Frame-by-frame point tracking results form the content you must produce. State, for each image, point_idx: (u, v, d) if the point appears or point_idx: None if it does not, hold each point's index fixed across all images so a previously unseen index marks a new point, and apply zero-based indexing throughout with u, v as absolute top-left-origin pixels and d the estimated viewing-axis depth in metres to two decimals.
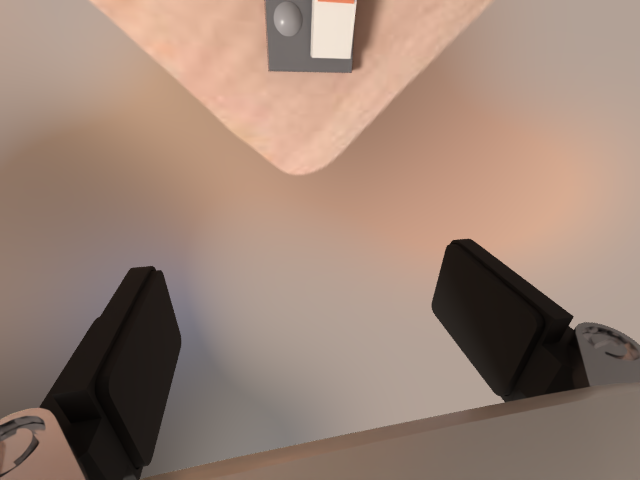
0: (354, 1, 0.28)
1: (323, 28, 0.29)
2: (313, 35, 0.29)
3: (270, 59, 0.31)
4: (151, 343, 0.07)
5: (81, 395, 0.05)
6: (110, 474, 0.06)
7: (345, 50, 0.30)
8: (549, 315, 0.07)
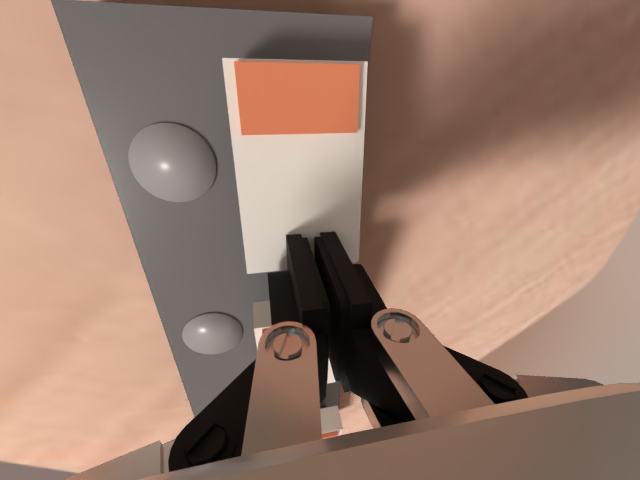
0: None
1: None
2: None
3: None
4: None
5: (318, 313, 0.07)
6: None
7: None
8: (350, 301, 0.07)
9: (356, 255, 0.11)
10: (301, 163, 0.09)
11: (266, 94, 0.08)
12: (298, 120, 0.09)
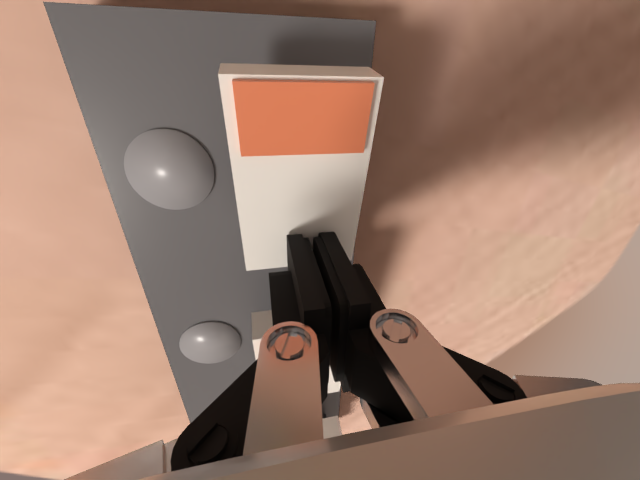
0: None
1: None
2: None
3: None
4: None
5: (319, 313, 0.07)
6: None
7: None
8: (349, 301, 0.07)
9: (350, 255, 0.11)
10: (302, 179, 0.09)
11: (267, 113, 0.08)
12: (302, 141, 0.08)
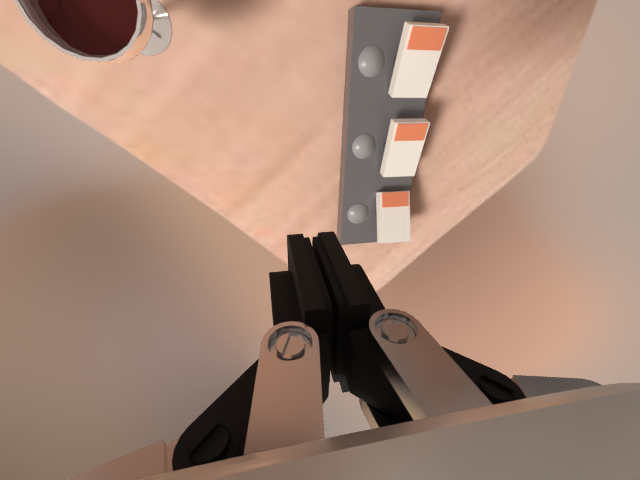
0: (408, 204, 0.38)
1: (387, 223, 0.38)
2: (380, 228, 0.38)
3: (341, 238, 0.40)
4: None
5: (320, 313, 0.07)
6: None
7: (405, 235, 0.38)
8: (348, 301, 0.07)
9: (426, 95, 0.32)
10: (420, 59, 0.29)
11: (417, 36, 0.28)
12: (424, 45, 0.28)
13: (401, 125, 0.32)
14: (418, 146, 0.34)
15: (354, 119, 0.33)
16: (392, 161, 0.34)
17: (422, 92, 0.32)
